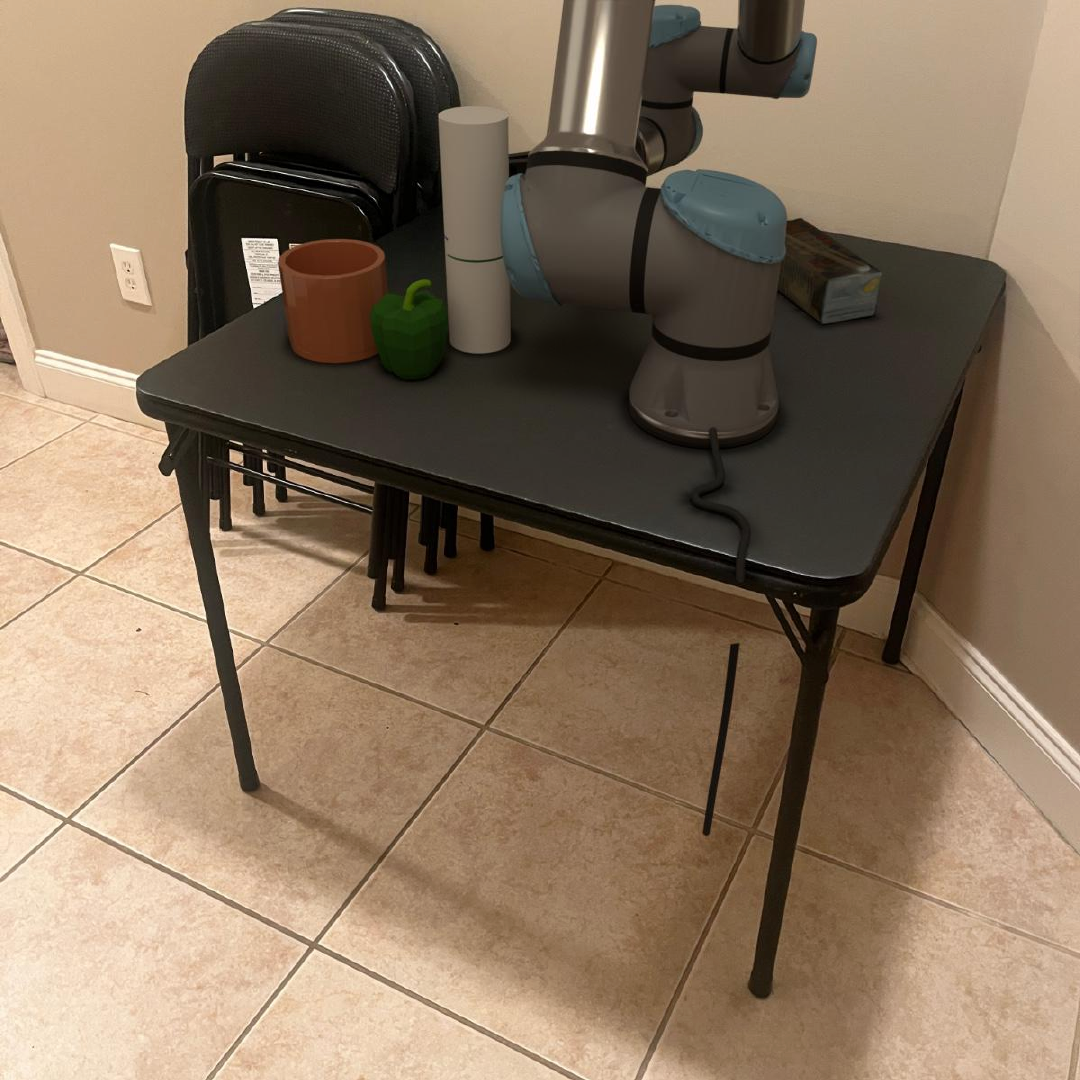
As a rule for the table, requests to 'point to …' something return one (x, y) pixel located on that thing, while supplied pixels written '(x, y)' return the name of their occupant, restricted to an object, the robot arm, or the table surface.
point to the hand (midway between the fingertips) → (519, 200)
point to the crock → (332, 298)
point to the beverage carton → (826, 276)
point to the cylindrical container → (475, 226)
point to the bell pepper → (410, 331)
